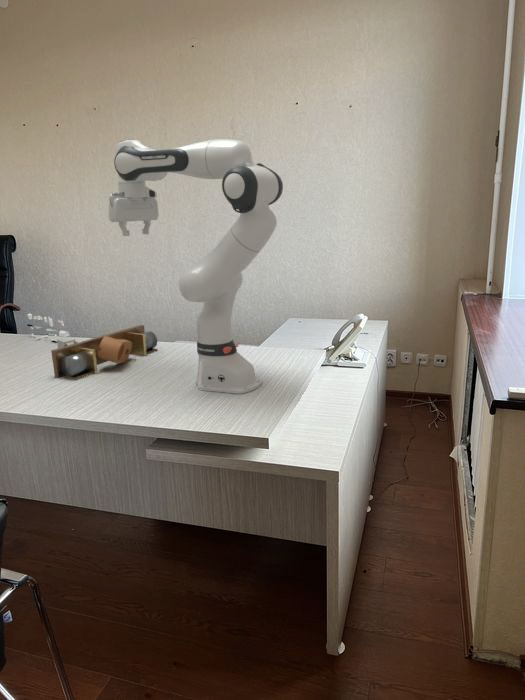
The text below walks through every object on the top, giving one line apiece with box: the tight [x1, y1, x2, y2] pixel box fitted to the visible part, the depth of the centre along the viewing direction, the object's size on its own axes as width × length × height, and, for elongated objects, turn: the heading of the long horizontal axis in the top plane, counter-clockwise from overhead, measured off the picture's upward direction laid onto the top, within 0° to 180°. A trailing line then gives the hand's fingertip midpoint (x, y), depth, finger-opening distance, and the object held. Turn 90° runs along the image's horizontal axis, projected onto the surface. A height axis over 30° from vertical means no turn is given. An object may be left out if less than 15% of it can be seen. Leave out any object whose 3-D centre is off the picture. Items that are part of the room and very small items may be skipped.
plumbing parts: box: [27, 313, 71, 344], centre depth 236 cm, size 6×35×12 cm, turn 53°
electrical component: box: [56, 336, 79, 349], centre depth 216 cm, size 24×6×5 cm, turn 43°
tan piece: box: [98, 336, 132, 365], centre depth 197 cm, size 18×8×7 cm
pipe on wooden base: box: [50, 324, 158, 381], centre depth 200 cm, size 10×44×10 cm, turn 149°
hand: (136, 235), depth 180 cm, fingers open, 8 cm apart
